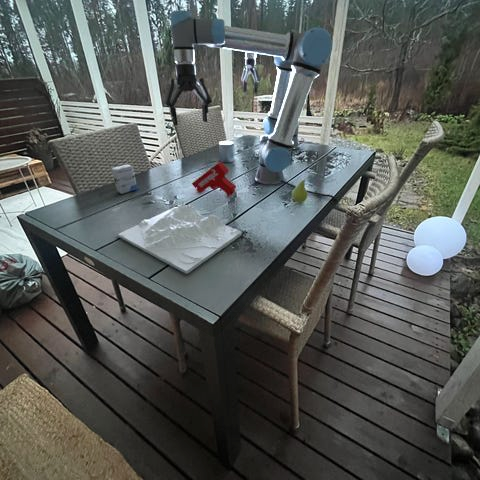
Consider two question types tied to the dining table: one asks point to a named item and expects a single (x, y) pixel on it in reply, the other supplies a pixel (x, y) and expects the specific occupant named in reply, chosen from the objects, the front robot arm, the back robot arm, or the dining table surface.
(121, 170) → the ink box
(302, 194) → the fruit
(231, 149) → the can
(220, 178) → the toy gun
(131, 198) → the dining table surface
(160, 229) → the relief map
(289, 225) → the dining table surface
